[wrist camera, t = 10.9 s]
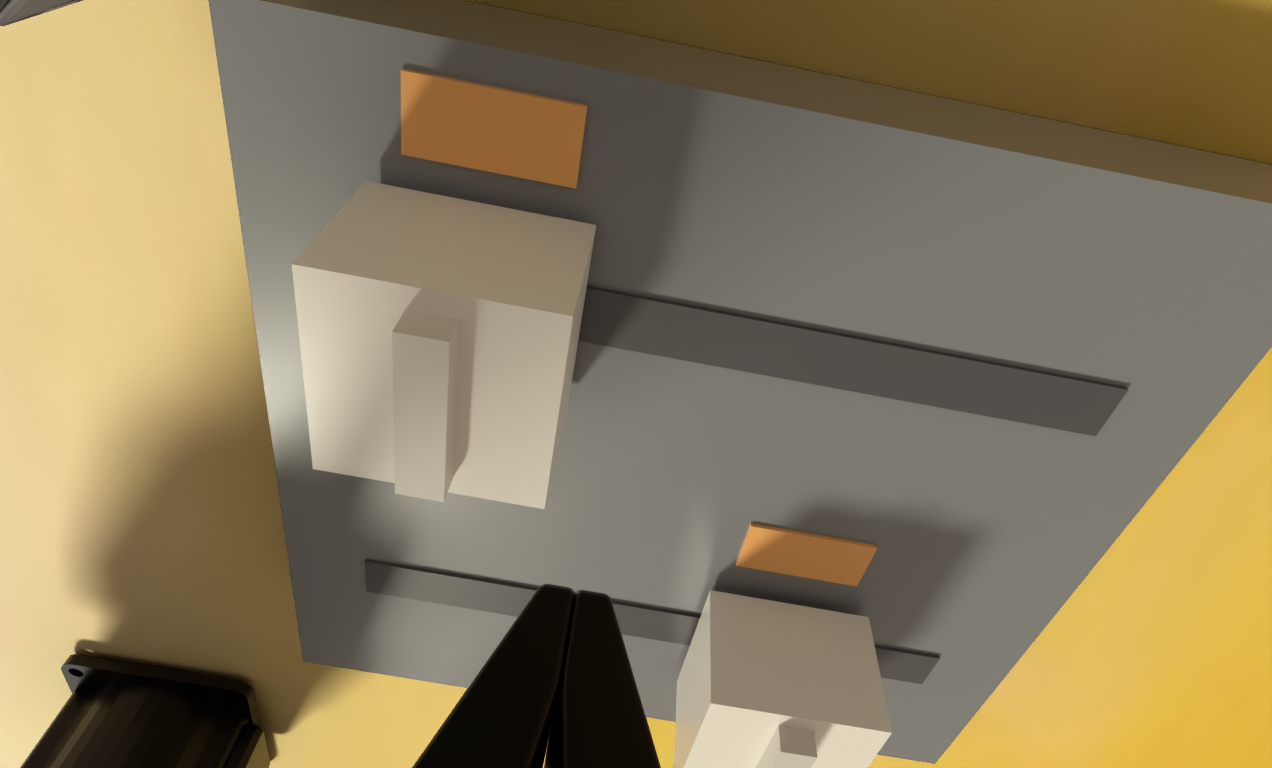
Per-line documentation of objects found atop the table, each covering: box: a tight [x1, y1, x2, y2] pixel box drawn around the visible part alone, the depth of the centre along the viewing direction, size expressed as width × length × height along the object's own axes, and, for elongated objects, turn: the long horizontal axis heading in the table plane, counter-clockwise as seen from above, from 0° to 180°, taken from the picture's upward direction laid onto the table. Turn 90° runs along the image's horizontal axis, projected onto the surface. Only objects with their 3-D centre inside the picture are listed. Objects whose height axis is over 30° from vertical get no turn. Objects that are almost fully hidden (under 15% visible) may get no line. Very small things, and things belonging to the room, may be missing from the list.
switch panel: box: [209, 0, 1272, 764], centre depth 19 cm, size 19×18×3 cm
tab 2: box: [674, 590, 892, 768], centre depth 19 cm, size 4×4×4 cm
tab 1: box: [292, 181, 596, 509], centre depth 13 cm, size 4×4×4 cm
